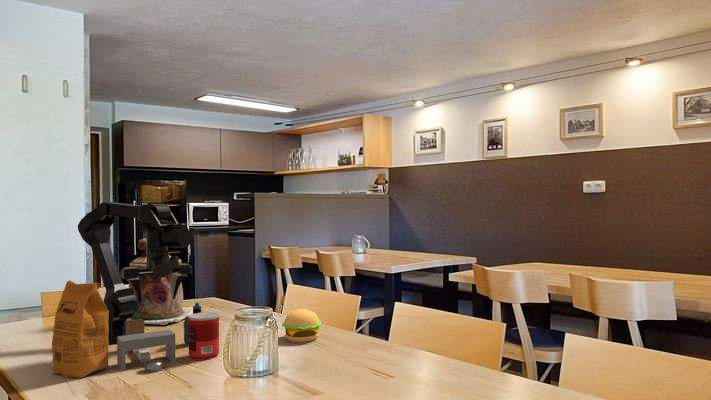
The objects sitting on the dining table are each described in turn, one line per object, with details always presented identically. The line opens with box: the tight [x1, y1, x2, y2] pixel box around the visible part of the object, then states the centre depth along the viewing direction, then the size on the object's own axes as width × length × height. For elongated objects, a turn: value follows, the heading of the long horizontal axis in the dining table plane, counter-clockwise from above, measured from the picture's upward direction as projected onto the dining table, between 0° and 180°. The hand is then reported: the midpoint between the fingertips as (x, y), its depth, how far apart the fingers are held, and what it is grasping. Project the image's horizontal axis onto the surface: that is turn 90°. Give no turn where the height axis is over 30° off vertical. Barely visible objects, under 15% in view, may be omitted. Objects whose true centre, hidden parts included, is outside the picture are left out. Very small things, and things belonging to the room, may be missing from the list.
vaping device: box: [183, 302, 202, 346], centre depth 149 cm, size 3×5×12 cm, turn 79°
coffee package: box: [51, 280, 110, 379], centre depth 125 cm, size 10×12×22 cm
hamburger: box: [281, 308, 322, 343], centre depth 155 cm, size 12×12×9 cm
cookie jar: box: [127, 234, 193, 326], centre depth 186 cm, size 25×25×32 cm
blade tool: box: [126, 319, 151, 364], centre depth 139 cm, size 16×4×8 cm, turn 34°
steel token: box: [144, 359, 163, 374], centre depth 126 cm, size 4×4×2 cm
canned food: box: [188, 311, 220, 361], centre depth 137 cm, size 8×8×11 cm
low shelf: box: [116, 328, 176, 371], centre depth 132 cm, size 6×13×7 cm, turn 124°
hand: (157, 300), depth 148 cm, fingers open, 9 cm apart
